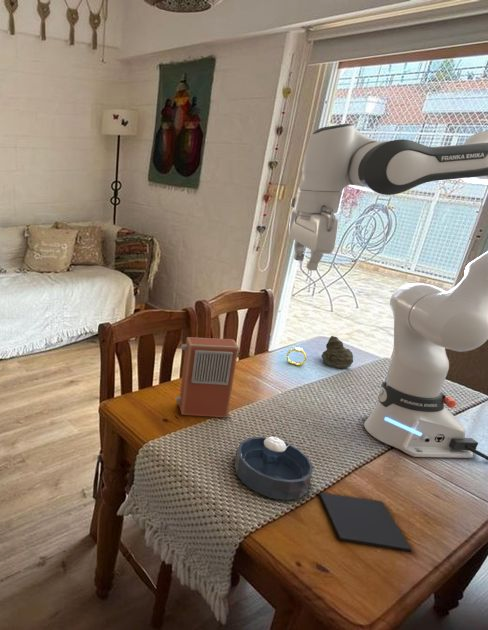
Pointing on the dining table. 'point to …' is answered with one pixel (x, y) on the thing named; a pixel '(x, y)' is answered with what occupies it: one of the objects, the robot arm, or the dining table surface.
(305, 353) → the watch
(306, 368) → the dining table surface
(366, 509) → the mat
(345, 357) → the brown poop pile
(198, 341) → the pink box with grille
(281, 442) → the milkshake
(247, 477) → the dish
